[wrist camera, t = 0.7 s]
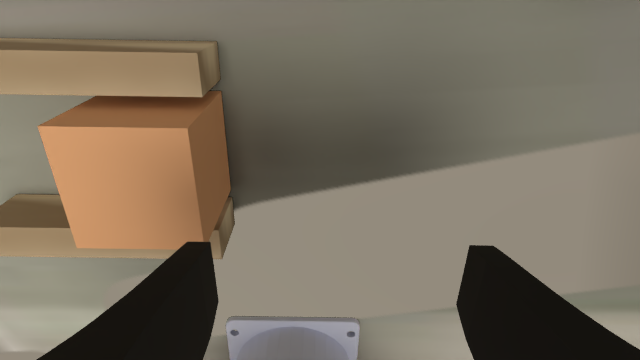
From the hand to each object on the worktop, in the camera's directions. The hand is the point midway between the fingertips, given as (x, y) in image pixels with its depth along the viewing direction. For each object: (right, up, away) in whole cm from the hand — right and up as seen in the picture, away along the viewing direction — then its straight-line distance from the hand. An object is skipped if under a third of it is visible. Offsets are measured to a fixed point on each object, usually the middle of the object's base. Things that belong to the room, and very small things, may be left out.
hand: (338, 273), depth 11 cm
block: (-7, +4, +8) cm, 12 cm away
